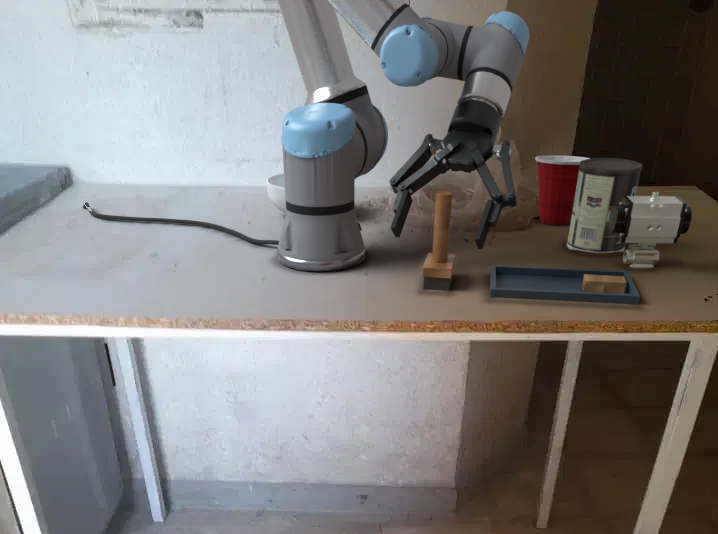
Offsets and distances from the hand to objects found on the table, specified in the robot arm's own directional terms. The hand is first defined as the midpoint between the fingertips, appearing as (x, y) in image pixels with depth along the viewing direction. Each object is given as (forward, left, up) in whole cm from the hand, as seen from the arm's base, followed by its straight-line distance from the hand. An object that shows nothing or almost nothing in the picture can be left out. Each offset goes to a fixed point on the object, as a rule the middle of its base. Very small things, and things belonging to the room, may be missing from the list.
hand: (435, 238), depth 111 cm
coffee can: (+28, +26, -8) cm, 39 cm away
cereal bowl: (-28, +41, -8) cm, 50 cm away
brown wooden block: (+25, +1, -7) cm, 26 cm away
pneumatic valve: (+34, +15, -8) cm, 38 cm away
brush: (+1, +1, -8) cm, 8 cm away
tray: (+20, +2, -8) cm, 21 cm away
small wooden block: (+28, +1, -7) cm, 28 cm away
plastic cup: (+22, +43, -8) cm, 48 cm away
